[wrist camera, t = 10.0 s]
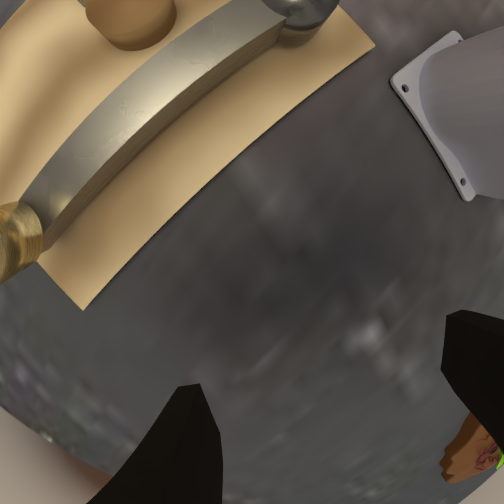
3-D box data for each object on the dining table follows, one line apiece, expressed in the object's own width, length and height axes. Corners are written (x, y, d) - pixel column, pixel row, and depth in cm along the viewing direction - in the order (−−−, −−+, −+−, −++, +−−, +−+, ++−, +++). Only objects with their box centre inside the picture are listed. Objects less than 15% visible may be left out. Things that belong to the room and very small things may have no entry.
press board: (368, 50, 15) (375, 45, 14) (88, 303, 18) (82, 310, 17) (177, -100, 11) (175, -107, 10) (-51, 120, 13) (-60, 119, 12)
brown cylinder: (192, 16, 13) (186, -10, 10) (133, 65, 14) (115, 46, 11) (147, -20, 12) (136, -47, 9) (92, 26, 13) (71, 5, 10)
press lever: (288, -22, 12) (322, -103, 5) (334, 24, 13) (396, -43, 6) (16, 217, 14) (-71, 250, 7) (54, 265, 15) (-23, 321, 8)
